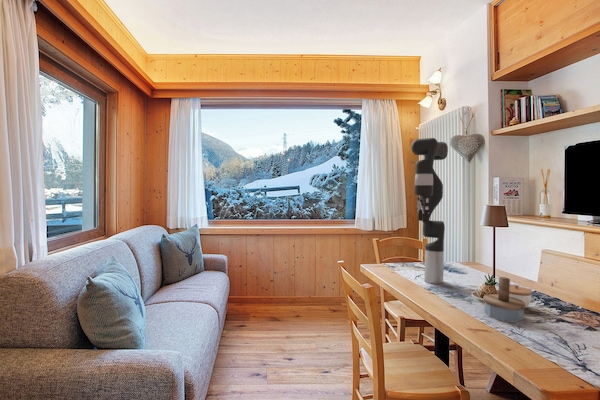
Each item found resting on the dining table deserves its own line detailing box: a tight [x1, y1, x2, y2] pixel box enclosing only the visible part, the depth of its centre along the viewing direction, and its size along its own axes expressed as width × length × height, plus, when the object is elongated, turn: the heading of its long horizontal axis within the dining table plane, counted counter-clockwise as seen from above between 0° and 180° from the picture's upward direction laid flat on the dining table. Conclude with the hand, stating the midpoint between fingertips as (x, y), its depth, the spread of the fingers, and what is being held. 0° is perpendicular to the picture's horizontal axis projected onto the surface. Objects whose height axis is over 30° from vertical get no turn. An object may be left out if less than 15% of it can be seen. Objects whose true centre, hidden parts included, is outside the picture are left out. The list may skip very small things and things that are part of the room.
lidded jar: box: [509, 284, 533, 308], centre depth 135 cm, size 11×11×9 cm
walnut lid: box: [482, 276, 526, 310], centre depth 125 cm, size 14×14×10 cm
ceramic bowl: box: [484, 302, 525, 323], centre depth 125 cm, size 12×12×5 cm
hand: (422, 221), depth 137 cm, fingers open, 8 cm apart
